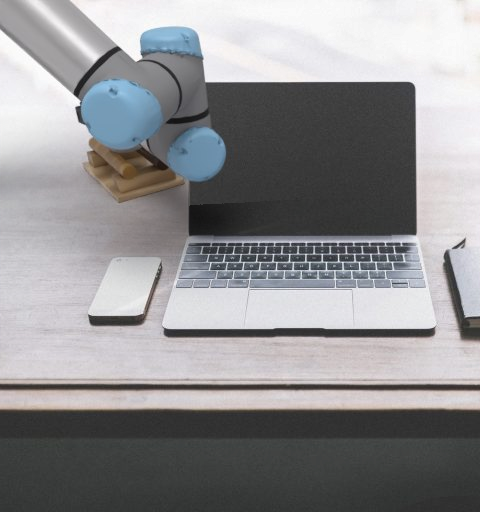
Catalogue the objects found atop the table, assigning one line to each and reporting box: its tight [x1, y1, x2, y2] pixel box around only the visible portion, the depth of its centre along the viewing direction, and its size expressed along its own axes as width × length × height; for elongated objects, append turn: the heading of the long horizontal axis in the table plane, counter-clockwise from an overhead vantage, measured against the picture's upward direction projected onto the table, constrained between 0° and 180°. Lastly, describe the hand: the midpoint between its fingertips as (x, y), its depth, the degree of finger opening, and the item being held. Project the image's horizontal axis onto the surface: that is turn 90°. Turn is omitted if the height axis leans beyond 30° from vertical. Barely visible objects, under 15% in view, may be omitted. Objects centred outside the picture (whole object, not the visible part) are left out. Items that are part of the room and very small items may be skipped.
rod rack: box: [82, 136, 185, 204], centre depth 112 cm, size 19×12×6 cm, turn 35°
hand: (108, 94), depth 109 cm, fingers closed on coffee cup, 8 cm apart
